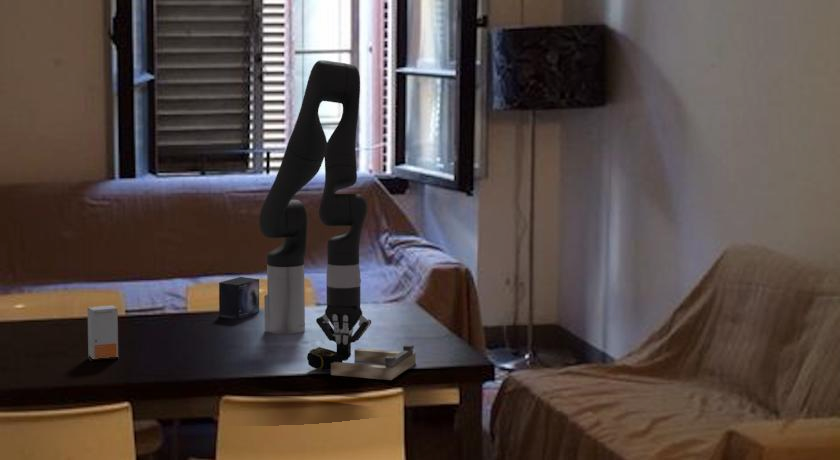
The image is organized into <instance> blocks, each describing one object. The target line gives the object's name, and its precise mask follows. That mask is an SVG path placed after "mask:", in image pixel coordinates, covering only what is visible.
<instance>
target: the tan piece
mask: <svg viewBox="0 0 840 460" xmlns="http://www.w3.org/2000/svg"><path fill="white" fill-rule="evenodd" d="M402 347H403V348H402V349H403V350H401V351H399V350H398V351H397V350H387V349H386V350H385V349H384V350H383V349H373V348H358V347H357V348H355V349H354V361H355V362H363V361H368V362H367V363H375V362H377V363H379V364H385V365H379V364H367V363H365V364H364V363H354V362H353V363H352V362H333V363H331V369H330V375H331V376H341V377H350V378H351V377H352V378H363V379H374V380H386V381H392V380H394V379H395V378H397V377H399V375H401V374H402V373H404V372H405V371H407V370H409V369H410V368H411V367H413V366H414V365H415V364H416V352H414V344H405V345H403V346H402Z"/></svg>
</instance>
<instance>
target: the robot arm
mask: <svg viewBox="0 0 840 460" xmlns="http://www.w3.org/2000/svg"><path fill="white" fill-rule="evenodd" d="M360 75H361V74H360V71H359V69H358V68H357V66H356V65H353V64H351V63H345V62H339V61H332V60H325V59H324V60H323V59H320V60H317V61H316V62H315V63H314V65H313V66H312V67H311V70H310V73H309V75H308V76H309V77H308V80H307V82H306V83H307V84H306V87H305V89H304V90H305V91H304V96H303V98H302V102H301V106H300V109H299V112H298V116H297V119H296V121H295V125H294V128H293V130H292V132H291V133H290V134H291V135H290V137H289V139H288V141H287V145H286V148H285V151H284V154H283V157H282V160H281V164H280V165H279V166H280V167H279V169H278V171H277V174H276V177H275V179H274V181H273V183H272V185H271V187H270V190H269V191H268V192H267V193H268V194H267V196H266V198H265V200H264V201H263V203H262V206H261V209H260V212H259V219H258V220H259V221H258V224H259V230H260V233H261V234H262V235H263V236H265V237H266V238H268V239H281V238H282V239H283V238H284V241H283V242H282V243H281V245H279V246H278V247H277V248H275V249H273V250H271V251H270V252H268V253H267V256H266V269H267V270H266V271H267V273H266V274H267V275H266V276H267V283H266V284H267V293H266V294H265V295H264V298H263V299H264V332H265V333H269V334H273V335H281V336H288V335H290V336H291V335H298V334H301V333H304V332H305V331H306V322H305V321H306V309H305V305H306V303H305V302H306V301H305V299H306V297H305V296H306V295H305V258H306V253H307V237H308V236H307V235H308V213H307V209H306V207H305V206H306V205H304V203H303V202H302V201H301V200H299V199H293V198H294V196H295V195H296V194H297V193H299V192H300V190H302V189H303V188H304V187H305V186H306V185H308V183H309V182H311V181H312V179H314V177H316V175H317V174H318V173H319V171H320V169H321V167H322V164H323V162H324V173H325V178H324V186H323V187H324V188H323V190H322V191H323V192H322V195H321V199H320V203H319V207H318V216H319V219H320V221H321V223H322V225H325V226H327V227H348V226H350V228H349V230H348V231H347V232H346V233H343V234H340V235H335V236H333V237H330V238H329V239H328V240H327V244H326V245H327V246H326V247H327V249H326V250H327V253H326V254H327V255H326V256H327V267H326V309H324V314H322V315H321V316H319V317H317V318H316V320H315V321H316V323H317V325H318V326H319V328H320V329H321V331H322V332H323V333H324V335H325V337H326V338H327V339H328V341H330V342H334V343H336V352H338V353H340V354H342V356H343V361H345V362H347V361H348V360H349V358H351V355H352V343H355V342H357V341H359V340H360V339H361V337H362V336H363V335H364V333H365V332H366V331H367V329H368V328H369V327H370V326H371V324H372V320H370V319H367V318H366V317H365V316H364V315H363V311H362V308H361V284H362V283H361V282H362V280H361V269H360V241H361V235H362V231H363V227H364V223H365V221H366V218H367V217H366V216H367V212H368V203H367V200H366V198H365V197H364V196H363V195H362V194H359V193H339V194H338V193H336V192H337V191H340V190H343V189H348V188H350V187H353V186H354V185H355V184H356V183H357V180H358V171H357V153H356V152H357V151H356V142H357V141H356V138H357V128H358V119H359V109H360V108H359V107H360V106H359V105H360V95H361V94H360V93H361V76H360ZM322 102H329V103H335V104H341V105H342V115H341V118H340V120H339V121H338V124H337V125H336V127H335V129H334V131H333V132H332V134H330V137H329V138H328V139H327V137H326V133H325V131H324V128H323V126H322V123H321V121H320V120H321V119H320V115H319V109H320V106H321V103H322ZM357 323H358V328H357V329H356V331H355V332H354V328H355V326H356V325H357Z"/></svg>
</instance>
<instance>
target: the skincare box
mask: <svg viewBox="0 0 840 460" xmlns="http://www.w3.org/2000/svg"><path fill="white" fill-rule="evenodd" d="M118 316H119V315H118V307H116V306H115V305H111V304H110V305H98V306H89V307H87V341H88V342H87V345H88V346H87V347H88V349H87V350H88V351H87V352H88V357H89V356H90V357H91V358H92V359H98V358H109V357H118V358H119V336H118V335H119V328H118V327H119V324H118V320H119V318H118Z"/></svg>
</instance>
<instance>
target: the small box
mask: <svg viewBox="0 0 840 460" xmlns="http://www.w3.org/2000/svg"><path fill="white" fill-rule="evenodd" d="M218 284H219V285H218V313H219V314H218V317H219V318H227V319H232V320H233V319H234V320H240V319H242V318H246V317H248V316H252V315H254V314H257V313H259V312H260V279H258V278H253V277H247V276H246V277H245V276H239V277H235V278H232V279H227V280H224V281H220V282H218Z"/></svg>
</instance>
